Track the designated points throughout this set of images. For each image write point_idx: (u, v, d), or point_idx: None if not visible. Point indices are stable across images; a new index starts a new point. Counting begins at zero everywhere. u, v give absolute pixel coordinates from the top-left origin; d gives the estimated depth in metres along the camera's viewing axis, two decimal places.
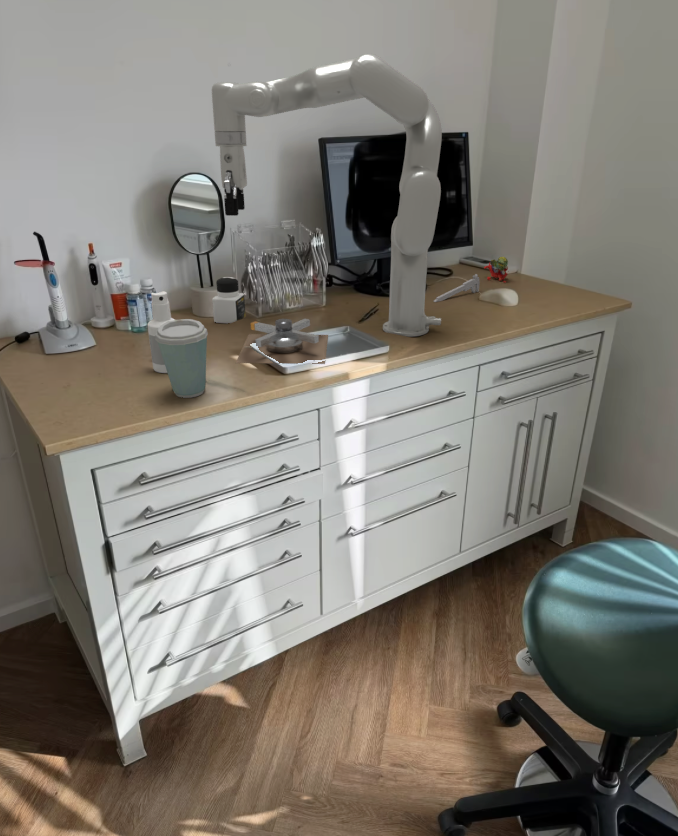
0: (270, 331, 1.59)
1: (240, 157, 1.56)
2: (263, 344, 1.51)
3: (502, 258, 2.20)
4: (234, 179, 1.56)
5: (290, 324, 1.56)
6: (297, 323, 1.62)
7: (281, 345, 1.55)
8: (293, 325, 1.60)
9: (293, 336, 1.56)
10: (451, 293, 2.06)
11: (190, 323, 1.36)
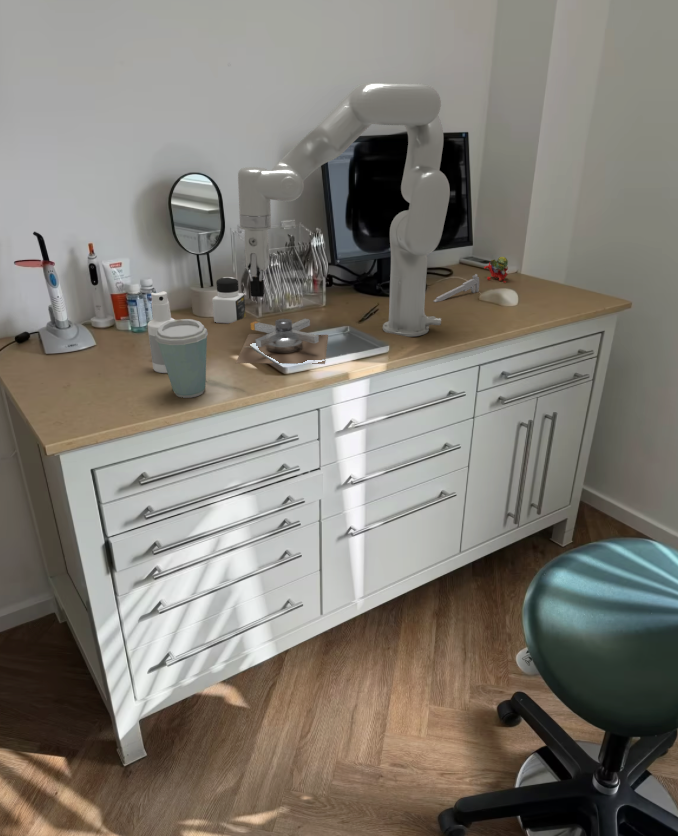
0: (270, 331, 1.59)
1: (264, 240, 1.56)
2: (263, 344, 1.51)
3: (502, 258, 2.20)
4: (258, 262, 1.56)
5: (290, 324, 1.56)
6: (297, 323, 1.62)
7: (281, 345, 1.55)
8: (293, 325, 1.60)
9: (293, 336, 1.56)
10: (451, 293, 2.06)
11: (190, 323, 1.36)
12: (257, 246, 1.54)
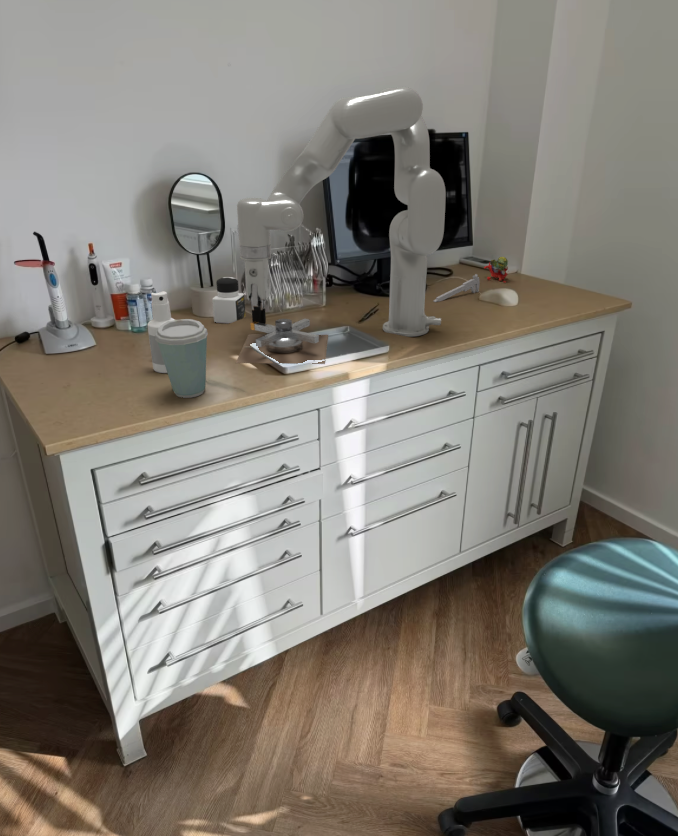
0: (270, 331, 1.59)
1: (265, 270, 1.56)
2: (263, 344, 1.51)
3: (502, 258, 2.20)
4: (259, 292, 1.56)
5: (290, 324, 1.56)
6: (297, 323, 1.62)
7: (281, 345, 1.55)
8: (293, 325, 1.60)
9: (293, 336, 1.56)
10: (451, 293, 2.06)
11: (190, 323, 1.36)
12: (257, 277, 1.54)
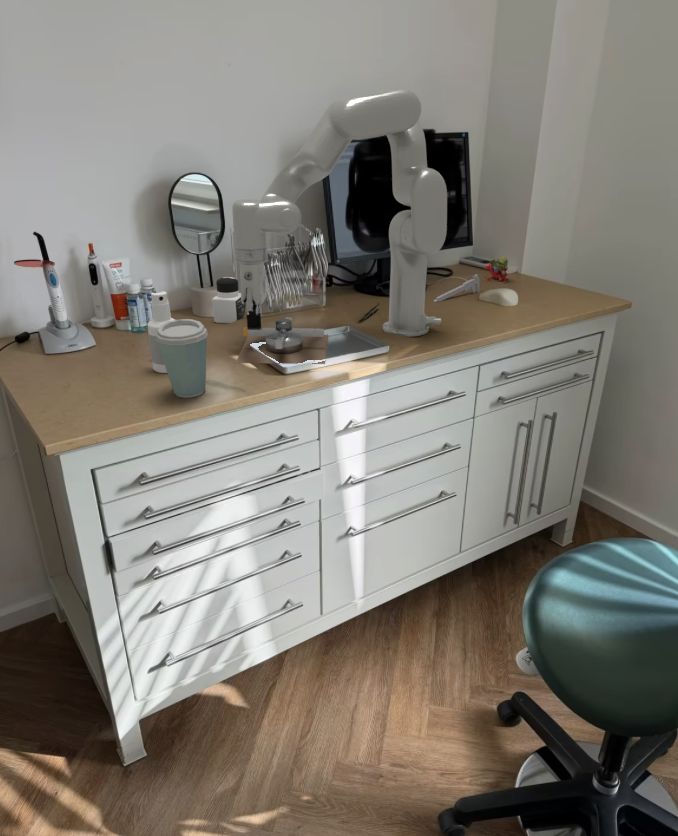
0: (268, 334, 1.57)
1: (260, 274, 1.51)
2: (282, 346, 1.50)
3: (502, 258, 2.20)
4: (254, 296, 1.51)
5: (291, 323, 1.57)
6: None
7: (291, 344, 1.55)
8: None
9: (297, 334, 1.57)
10: (451, 293, 2.05)
11: (190, 323, 1.36)
12: (253, 280, 1.50)
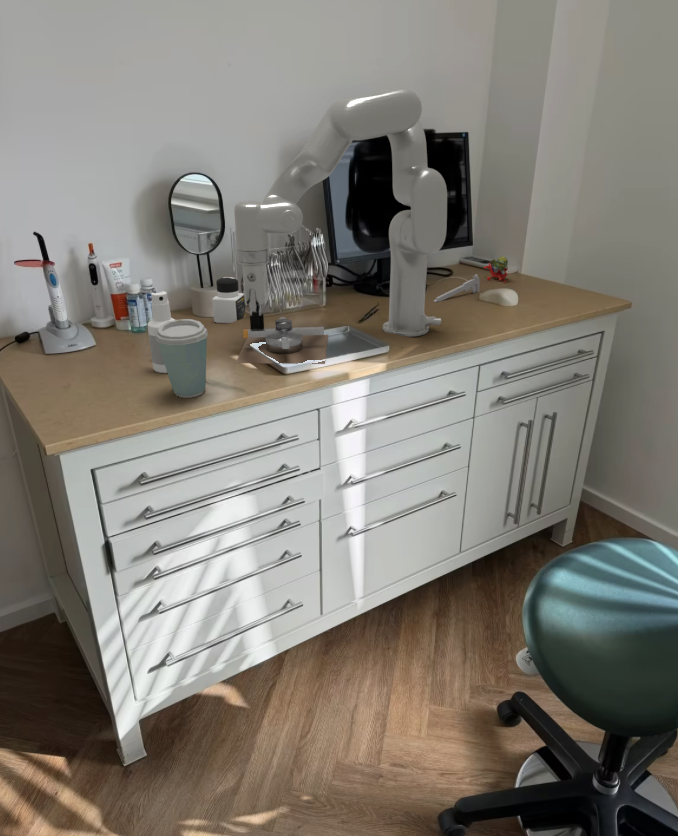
0: (269, 334, 1.57)
1: (263, 275, 1.52)
2: (288, 345, 1.50)
3: (502, 258, 2.20)
4: (257, 297, 1.52)
5: (291, 322, 1.57)
6: None
7: (293, 343, 1.55)
8: None
9: (298, 333, 1.58)
10: (451, 293, 2.05)
11: (190, 323, 1.36)
12: (256, 281, 1.51)
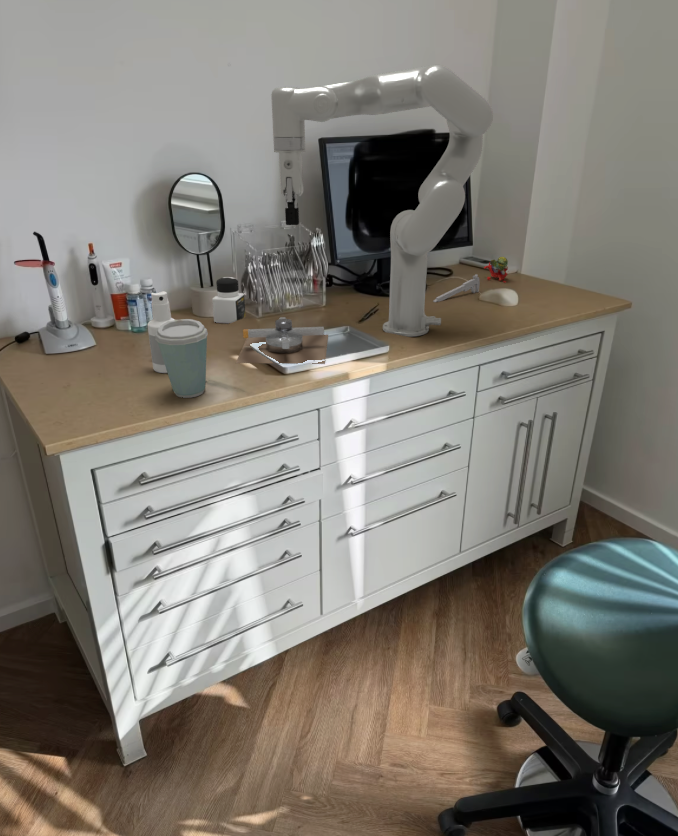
0: (269, 334, 1.57)
1: (300, 163, 1.52)
2: (288, 345, 1.50)
3: (502, 258, 2.20)
4: (294, 186, 1.53)
5: (291, 322, 1.57)
6: None
7: (293, 343, 1.55)
8: None
9: (298, 333, 1.58)
10: (451, 293, 2.05)
11: (190, 323, 1.36)
12: (293, 169, 1.51)
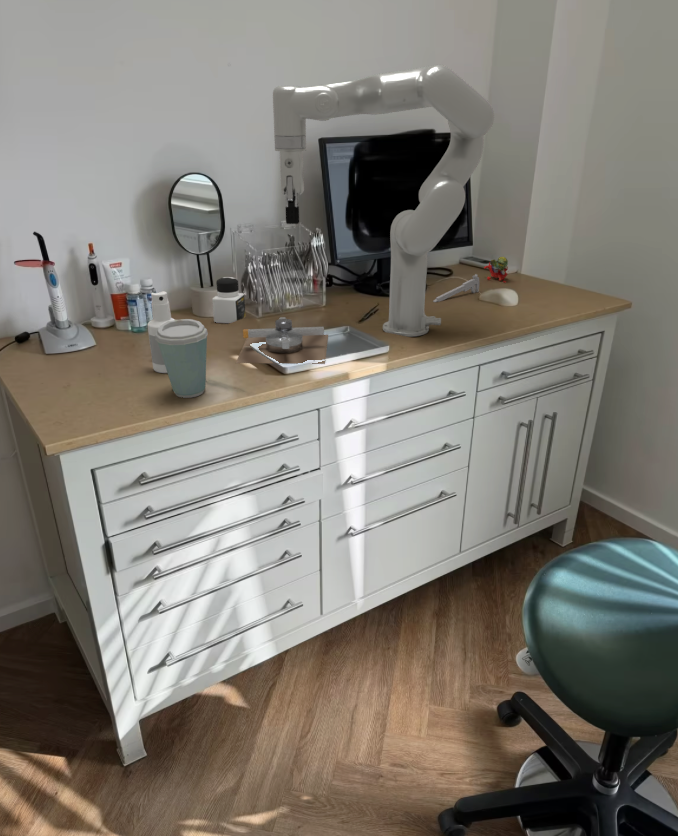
0: (269, 334, 1.57)
1: (300, 162, 1.52)
2: (288, 345, 1.50)
3: (502, 258, 2.20)
4: (294, 184, 1.53)
5: (291, 322, 1.57)
6: None
7: (293, 343, 1.55)
8: None
9: (298, 333, 1.58)
10: (451, 293, 2.05)
11: (190, 323, 1.36)
12: (293, 168, 1.51)
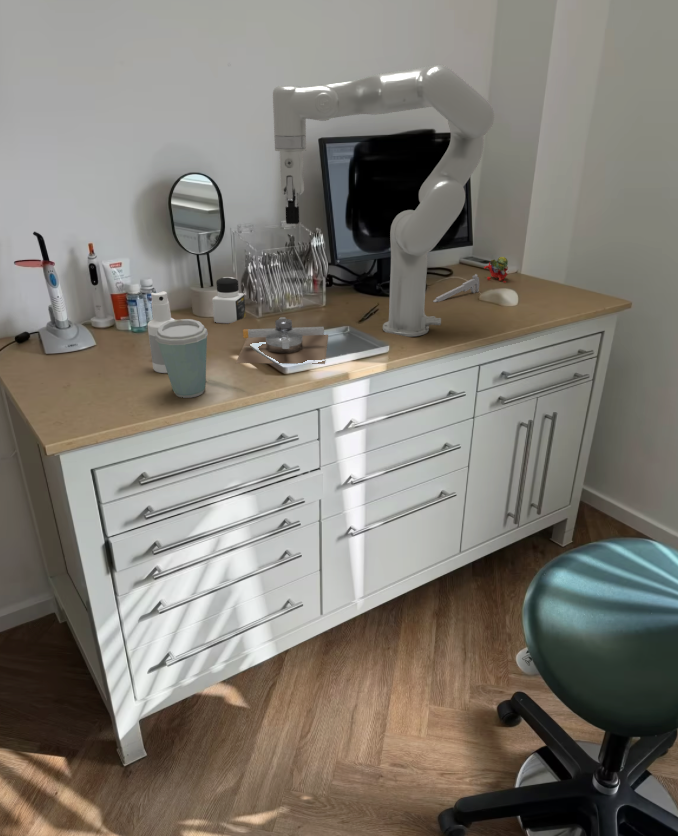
0: (269, 334, 1.57)
1: (300, 162, 1.52)
2: (288, 345, 1.50)
3: (502, 258, 2.20)
4: (294, 184, 1.53)
5: (291, 322, 1.57)
6: None
7: (293, 343, 1.55)
8: None
9: (298, 333, 1.58)
10: (451, 293, 2.05)
11: (190, 323, 1.36)
12: (293, 168, 1.51)
